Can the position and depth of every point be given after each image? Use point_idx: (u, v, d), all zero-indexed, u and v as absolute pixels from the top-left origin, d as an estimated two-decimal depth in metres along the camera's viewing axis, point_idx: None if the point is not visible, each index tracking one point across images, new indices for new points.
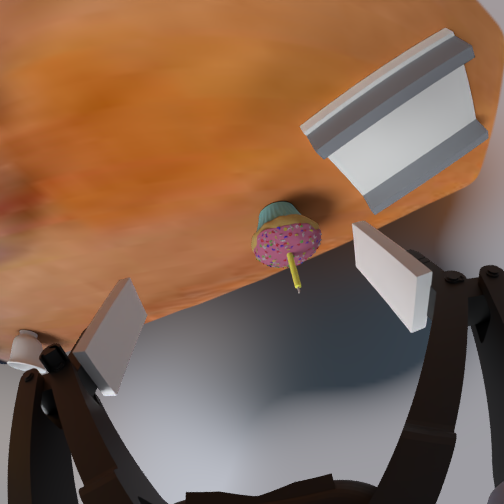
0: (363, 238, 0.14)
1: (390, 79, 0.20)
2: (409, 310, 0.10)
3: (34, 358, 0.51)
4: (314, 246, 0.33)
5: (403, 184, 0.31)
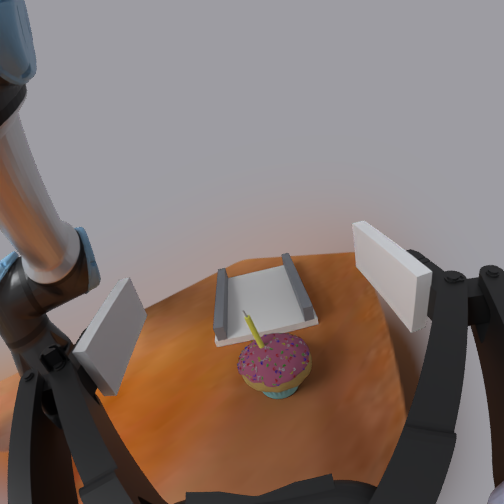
0: (363, 238, 0.14)
1: None
2: (409, 310, 0.10)
3: None
4: (279, 333, 0.33)
5: (295, 292, 0.46)
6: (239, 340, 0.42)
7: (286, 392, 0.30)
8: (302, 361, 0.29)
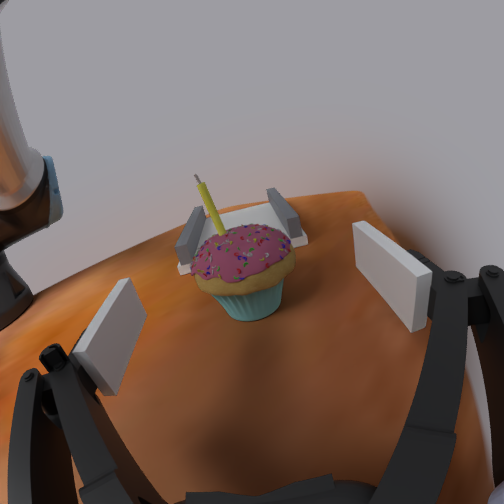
0: (363, 238, 0.14)
1: None
2: (409, 310, 0.10)
3: None
4: (250, 225, 0.25)
5: (279, 211, 0.38)
6: None
7: (259, 306, 0.22)
8: (280, 249, 0.21)
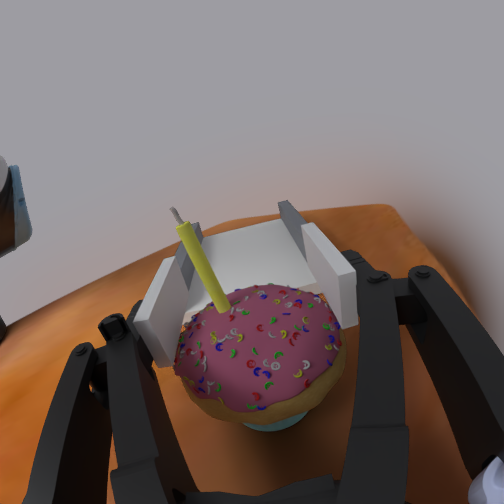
0: (308, 239, 0.15)
1: None
2: (338, 307, 0.11)
3: None
4: (268, 284, 0.15)
5: (300, 238, 0.28)
6: None
7: (285, 419, 0.12)
8: (326, 344, 0.11)
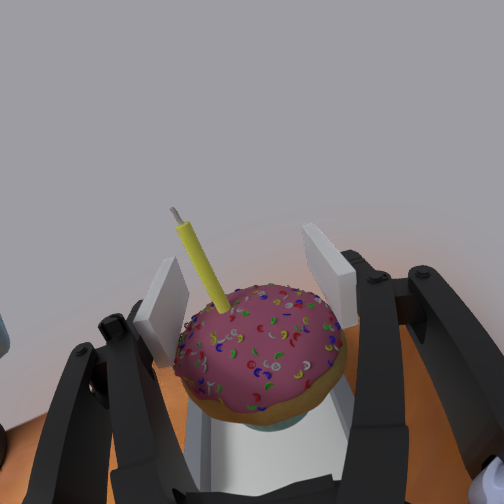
0: (308, 239, 0.15)
1: None
2: (338, 307, 0.11)
3: None
4: None
5: (341, 415, 0.20)
6: None
7: (286, 420, 0.12)
8: (327, 345, 0.11)
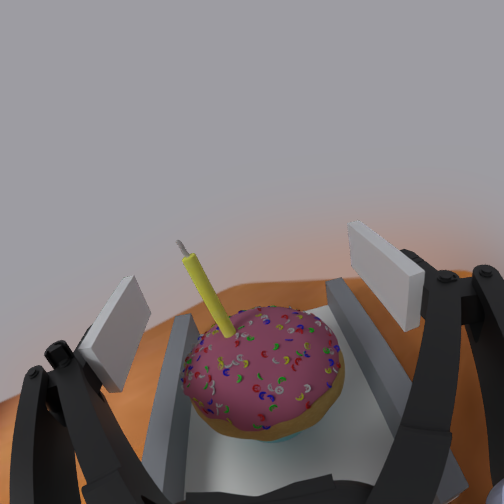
0: (358, 238, 0.14)
1: None
2: (402, 309, 0.10)
3: None
4: None
5: None
6: None
7: None
8: (326, 367, 0.12)
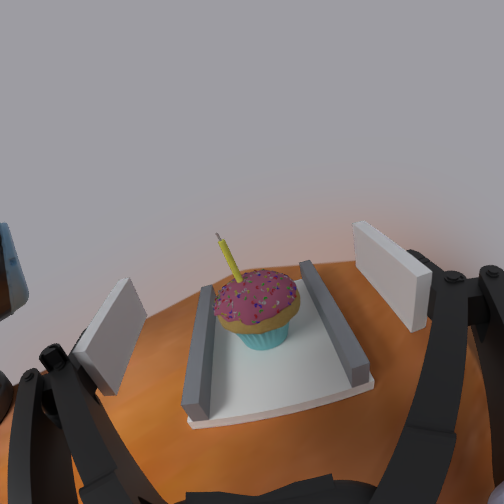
0: (363, 238, 0.14)
1: None
2: (409, 310, 0.10)
3: None
4: (262, 270, 0.30)
5: (332, 331, 0.24)
6: (231, 421, 0.21)
7: (271, 339, 0.26)
8: (288, 295, 0.25)
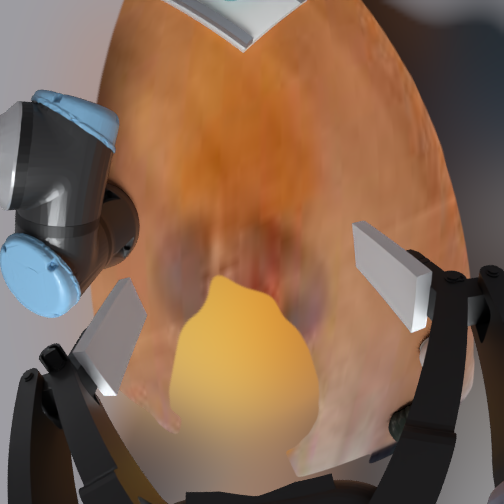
0: (363, 238, 0.14)
1: (197, 15, 0.32)
2: (409, 310, 0.10)
3: None
4: None
5: None
6: None
7: None
8: None
